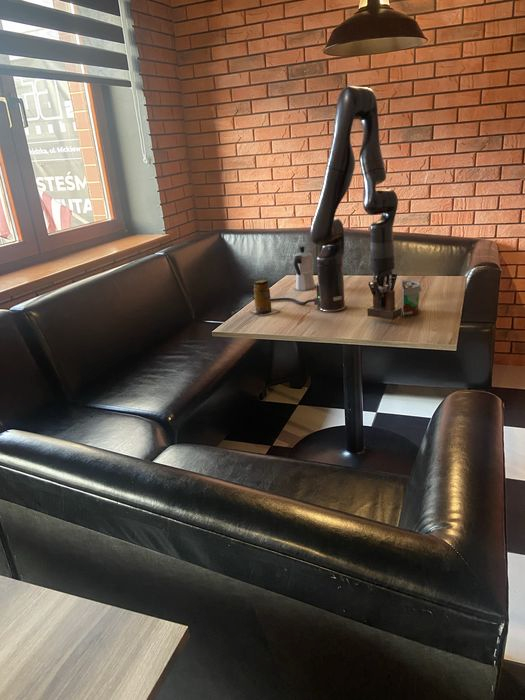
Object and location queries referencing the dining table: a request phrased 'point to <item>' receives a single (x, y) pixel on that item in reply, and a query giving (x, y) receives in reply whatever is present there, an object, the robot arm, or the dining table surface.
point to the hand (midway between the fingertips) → (383, 306)
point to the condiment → (262, 298)
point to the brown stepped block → (389, 308)
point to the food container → (410, 297)
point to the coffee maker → (303, 270)
